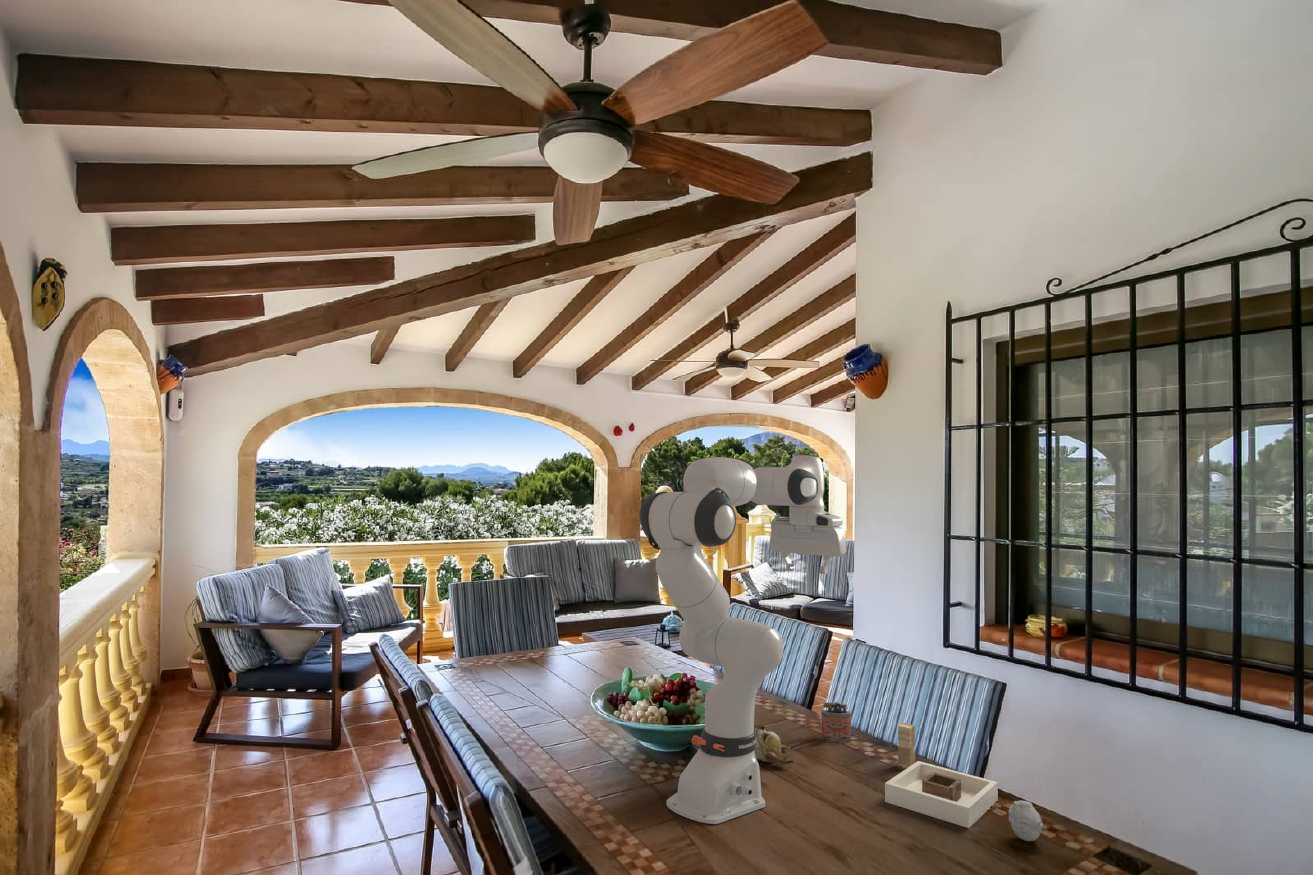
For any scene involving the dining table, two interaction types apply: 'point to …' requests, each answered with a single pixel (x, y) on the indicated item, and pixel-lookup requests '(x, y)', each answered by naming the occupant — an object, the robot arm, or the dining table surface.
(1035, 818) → the grey rounded stone
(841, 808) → the dining table surface
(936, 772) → the tray
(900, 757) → the tan wooden block
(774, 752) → the ceramic sculpture
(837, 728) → the lighter
